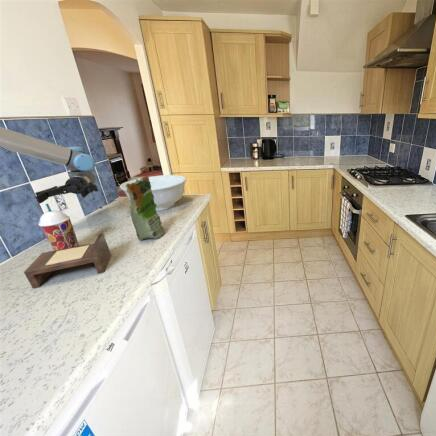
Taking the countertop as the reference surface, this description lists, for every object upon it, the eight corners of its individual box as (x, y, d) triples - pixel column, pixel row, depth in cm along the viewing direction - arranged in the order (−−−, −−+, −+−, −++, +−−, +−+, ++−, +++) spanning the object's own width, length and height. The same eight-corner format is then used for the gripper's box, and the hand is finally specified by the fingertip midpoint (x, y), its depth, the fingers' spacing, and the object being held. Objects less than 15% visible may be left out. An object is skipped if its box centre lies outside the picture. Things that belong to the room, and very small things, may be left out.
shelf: (32, 288, 73) (18, 263, 70) (49, 267, 83) (37, 245, 80) (103, 272, 80) (94, 248, 76) (111, 254, 90) (103, 233, 86)
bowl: (199, 196, 152) (195, 173, 146) (175, 217, 122) (169, 189, 116) (149, 197, 153) (142, 174, 147) (113, 218, 123) (103, 190, 117)
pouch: (161, 227, 111) (147, 173, 101) (170, 236, 103) (155, 178, 93) (134, 236, 104) (115, 178, 94) (141, 245, 96) (122, 184, 86)
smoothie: (88, 250, 94) (67, 201, 86) (62, 261, 87) (37, 209, 79) (76, 246, 97) (55, 198, 89) (50, 256, 90) (25, 206, 82)
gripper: (112, 188, 118) (102, 200, 100) (47, 196, 109) (23, 211, 91) (107, 172, 115) (96, 183, 97) (39, 179, 106) (13, 192, 88)
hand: (60, 197), depth 94 cm, fingers open, 13 cm apart
